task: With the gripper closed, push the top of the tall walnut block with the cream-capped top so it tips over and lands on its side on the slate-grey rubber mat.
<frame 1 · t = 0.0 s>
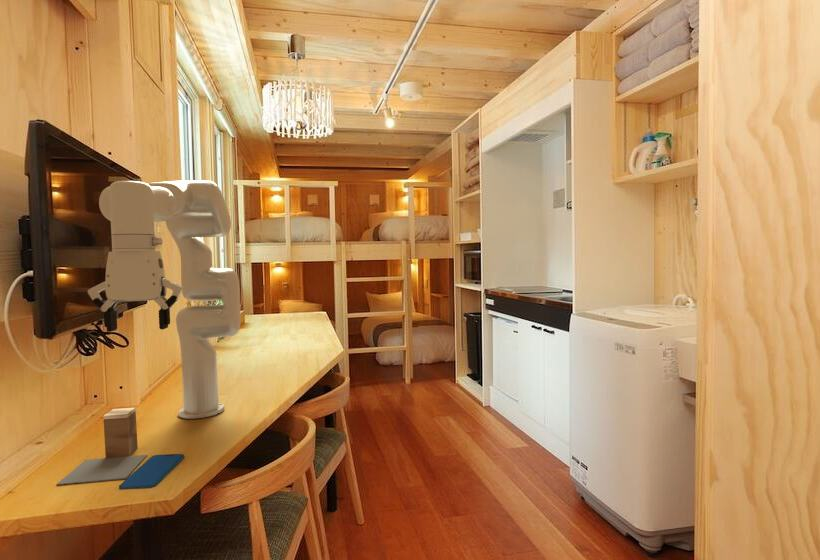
hand: (138, 329, 98), 31 cm above the worktop, tool pointing down, fingers open, 9 cm apart
smartphone: (153, 474, 104), on the worktop
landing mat: (104, 469, 105), on the worktop
walnut block: (122, 453, 114), on the worktop
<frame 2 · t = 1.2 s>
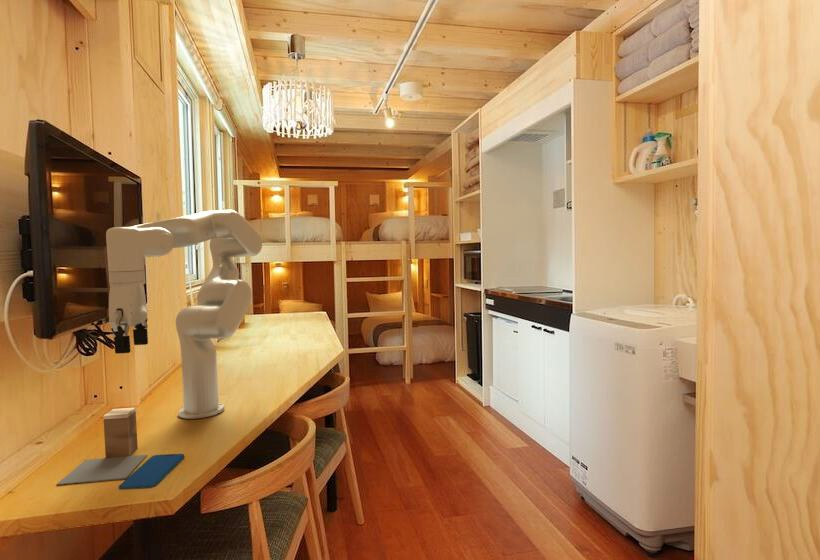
hand: (132, 348, 118), 24 cm above the worktop, tool pointing down, fingers open, 9 cm apart
nothing on the worktop moved.
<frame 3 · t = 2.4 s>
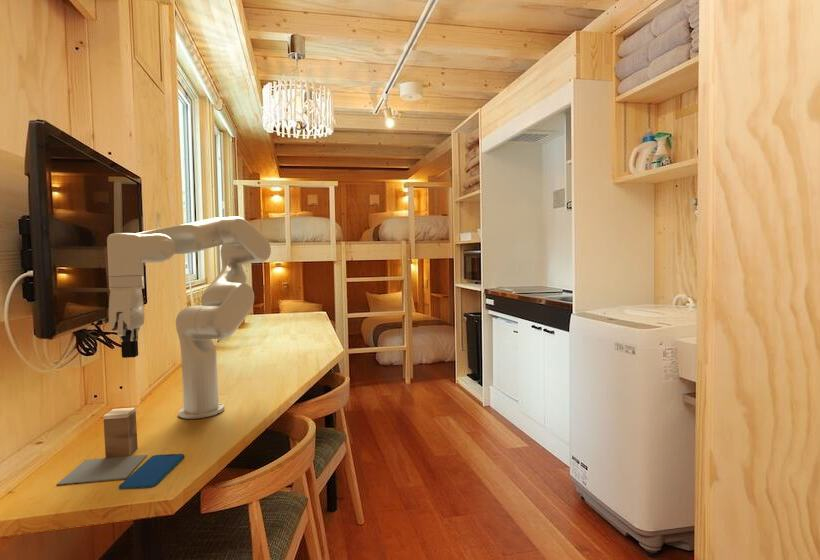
hand: (130, 356, 121), 21 cm above the worktop, tool pointing down, fingers closed
nothing on the worktop moved.
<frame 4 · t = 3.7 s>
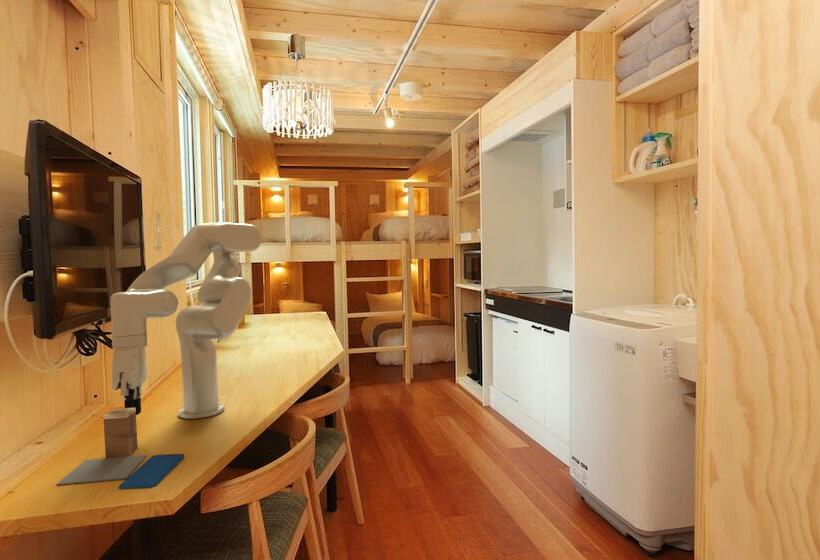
hand: (133, 414, 121), 7 cm above the worktop, tool pointing down, fingers closed
nothing on the worktop moved.
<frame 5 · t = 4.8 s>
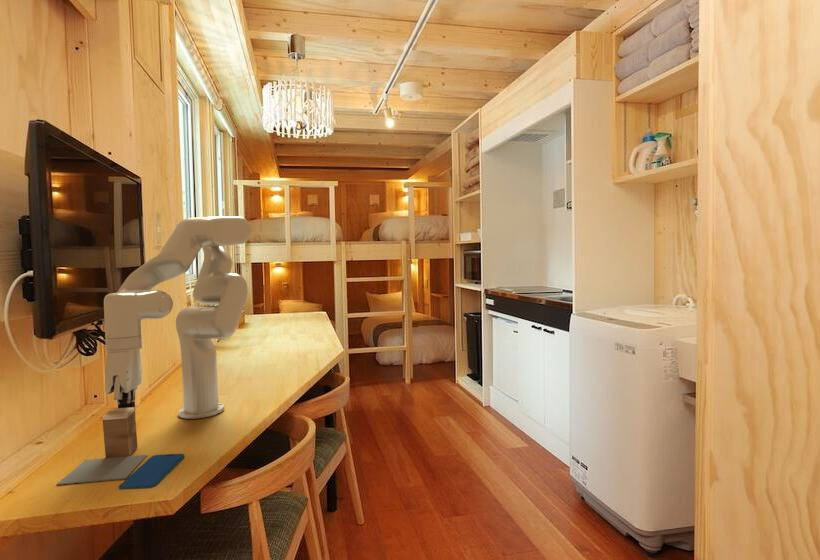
hand: (127, 418, 118), 7 cm above the worktop, tool pointing down, fingers closed
walnut block: (122, 452, 114), on the worktop, touching gripper
everything else where it was.
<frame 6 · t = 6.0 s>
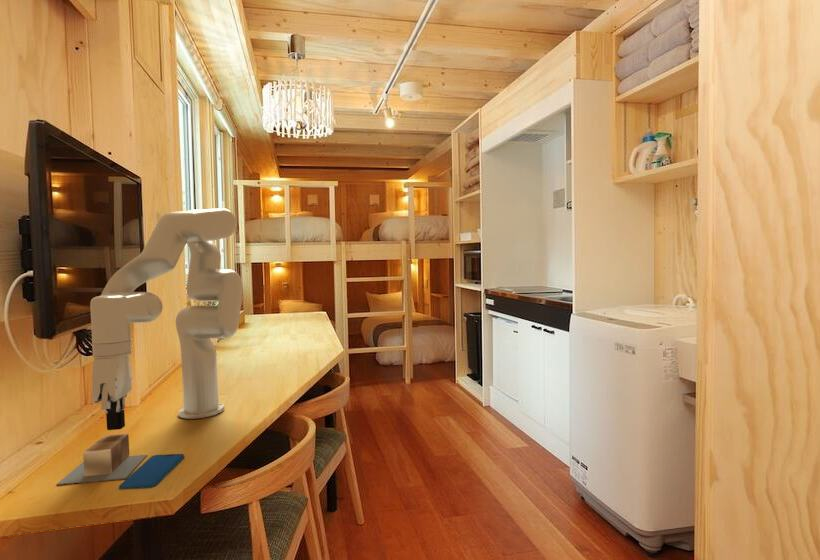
hand: (116, 428, 111), 7 cm above the worktop, tool pointing down, fingers closed
walnut block: (117, 445, 112), point 3 cm above the worktop, tilted 90°, touching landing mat
everything else where it was.
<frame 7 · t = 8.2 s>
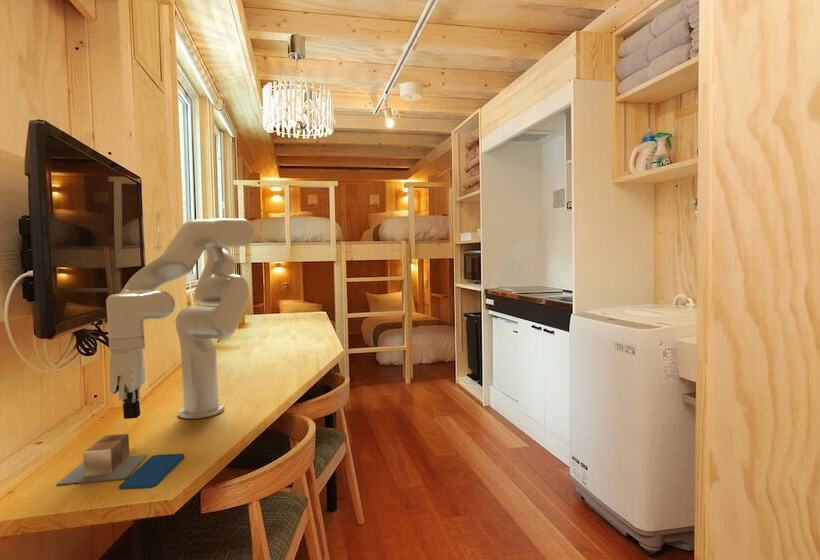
hand: (132, 417, 120), 7 cm above the worktop, tool pointing down, fingers closed
nothing on the worktop moved.
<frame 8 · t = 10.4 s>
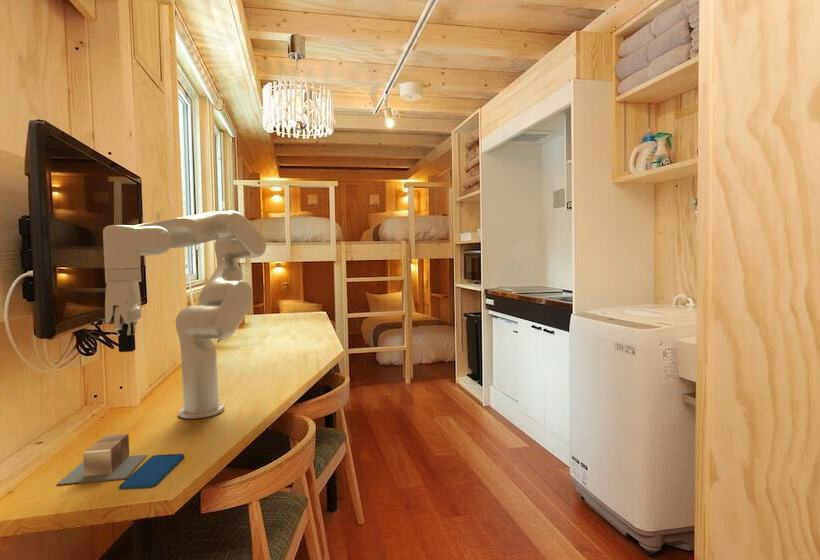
hand: (127, 351, 119), 23 cm above the worktop, tool pointing down, fingers closed
nothing on the worktop moved.
at the end: walnut block tilted 90°; walnut block inside the target area (2.1 cm from its centre), point 2.8 cm above the worktop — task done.
